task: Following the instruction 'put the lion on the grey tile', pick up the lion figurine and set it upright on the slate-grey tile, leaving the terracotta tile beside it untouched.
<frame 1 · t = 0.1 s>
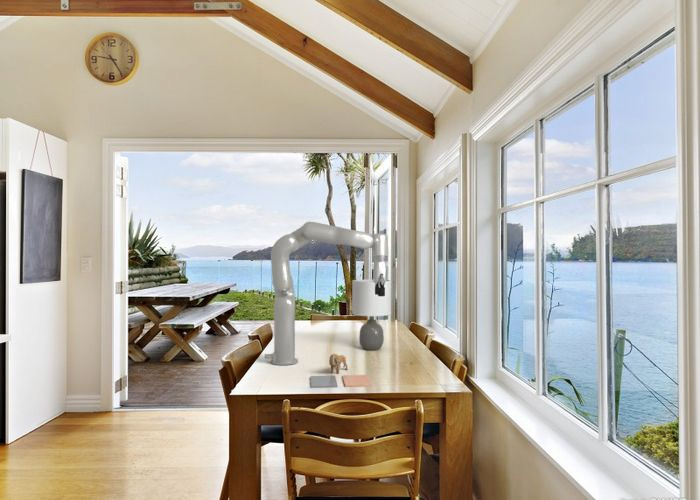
hand: (379, 295, 237), 31 cm above the table, tool pointing down, fingers open, 9 cm apart
terracotta tile: (356, 383, 199), on the table
slate tile: (323, 383, 198), on the table
lamp: (371, 349, 267), on the table
lion figurine: (338, 372, 214), on the table
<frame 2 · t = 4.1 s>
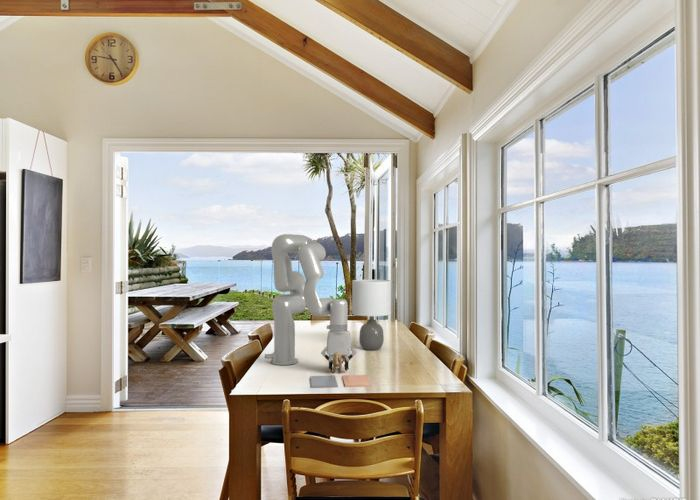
hand: (338, 369, 214), 1 cm above the table, tool pointing down, fingers closed on lion figurine, 5 cm apart
lion figurine: (340, 372, 215), on the table, touching gripper
everything else where it was.
when the fingers open (3 cm above the table, at t = 9.8 s): lion figurine drops 3 cm, resting on slate tile.
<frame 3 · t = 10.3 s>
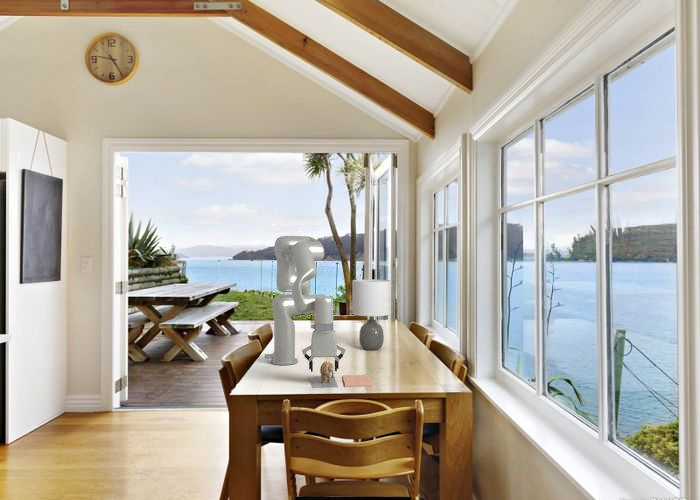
hand: (323, 370, 198), 4 cm above the table, tool pointing down, fingers open, 9 cm apart
slate tile: (323, 385, 198), on the table, touching lion figurine
lion figurine: (328, 381, 199), resting on slate tile
everything else where it was.
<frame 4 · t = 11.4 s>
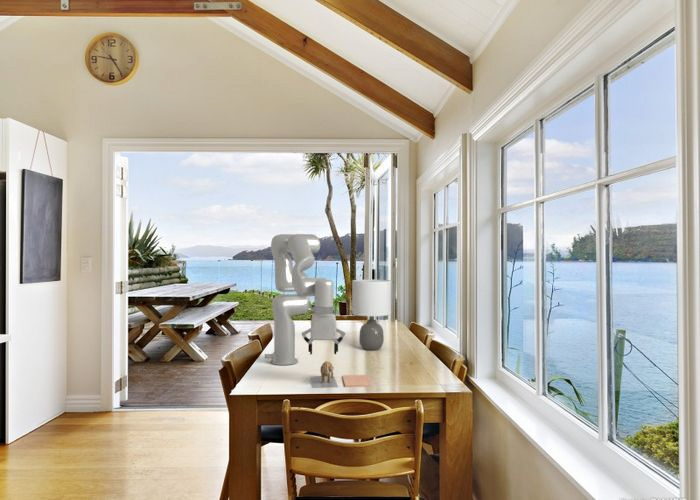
hand: (323, 353, 198), 11 cm above the table, tool pointing down, fingers open, 9 cm apart
lion figurine: (328, 381, 200), resting on slate tile
everything else where it was.
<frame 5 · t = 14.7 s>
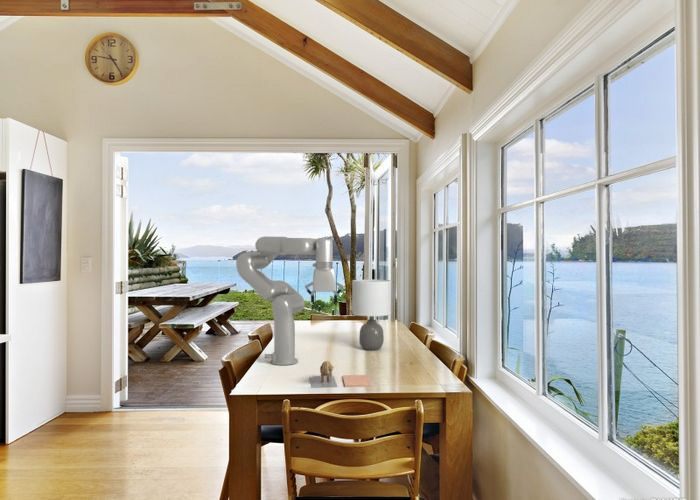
hand: (324, 304, 223), 28 cm above the table, tool pointing down, fingers open, 9 cm apart
nothing on the table moved.
at the end: lion figurine inside the target area on the slate tile (2.6 cm from its centre), point 1.0 cm above the slate tile's base; lion figurine tilted 0°; terracotta tile moved 0.6 cm from its start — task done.
